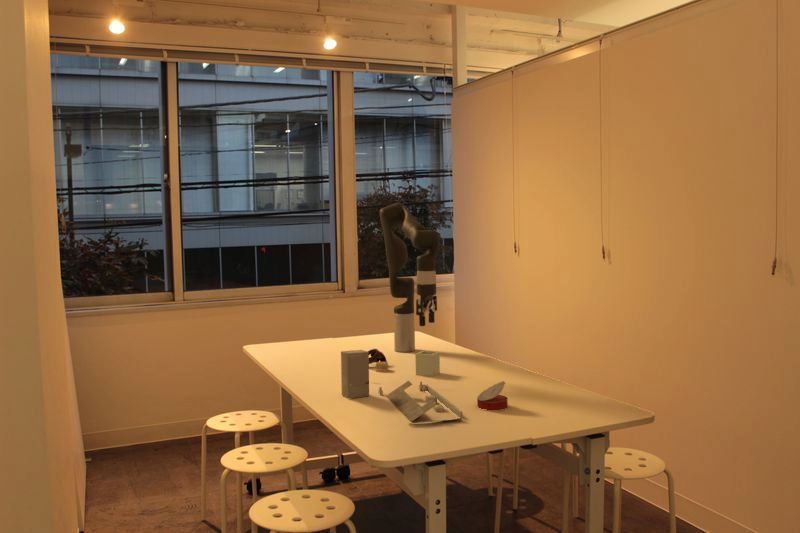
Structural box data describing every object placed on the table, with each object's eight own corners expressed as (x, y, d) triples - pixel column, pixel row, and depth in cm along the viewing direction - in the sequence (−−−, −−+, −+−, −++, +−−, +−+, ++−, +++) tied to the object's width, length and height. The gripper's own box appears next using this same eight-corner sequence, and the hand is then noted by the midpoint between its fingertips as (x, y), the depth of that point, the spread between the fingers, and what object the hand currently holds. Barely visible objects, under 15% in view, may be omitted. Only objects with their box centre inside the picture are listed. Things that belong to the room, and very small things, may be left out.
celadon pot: (423, 373, 307) (423, 350, 307) (439, 374, 304) (439, 351, 304) (415, 376, 301) (415, 353, 300) (432, 378, 298) (432, 355, 297)
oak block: (377, 371, 313) (377, 361, 312) (387, 371, 312) (387, 361, 312) (376, 373, 309) (376, 363, 308) (386, 373, 308) (386, 363, 308)
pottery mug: (390, 369, 319) (381, 353, 316) (370, 379, 320) (360, 363, 317) (387, 356, 330) (378, 340, 328) (367, 366, 331) (358, 351, 328)
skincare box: (348, 399, 268) (347, 353, 267) (340, 395, 275) (339, 350, 274) (370, 396, 272) (369, 351, 271) (362, 392, 279) (361, 348, 277)
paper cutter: (427, 390, 280) (427, 375, 280) (468, 424, 237) (468, 406, 237) (378, 394, 276) (377, 379, 275) (410, 429, 233) (410, 411, 232)
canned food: (501, 424, 251) (497, 401, 246) (473, 417, 256) (469, 394, 251) (515, 401, 259) (512, 378, 254) (488, 395, 264) (484, 372, 259)
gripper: (425, 280, 308) (425, 321, 309) (409, 284, 295) (410, 326, 297) (442, 280, 305) (443, 322, 306) (427, 284, 292) (428, 327, 293)
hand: (427, 324), depth 301 cm, fingers open, 8 cm apart
